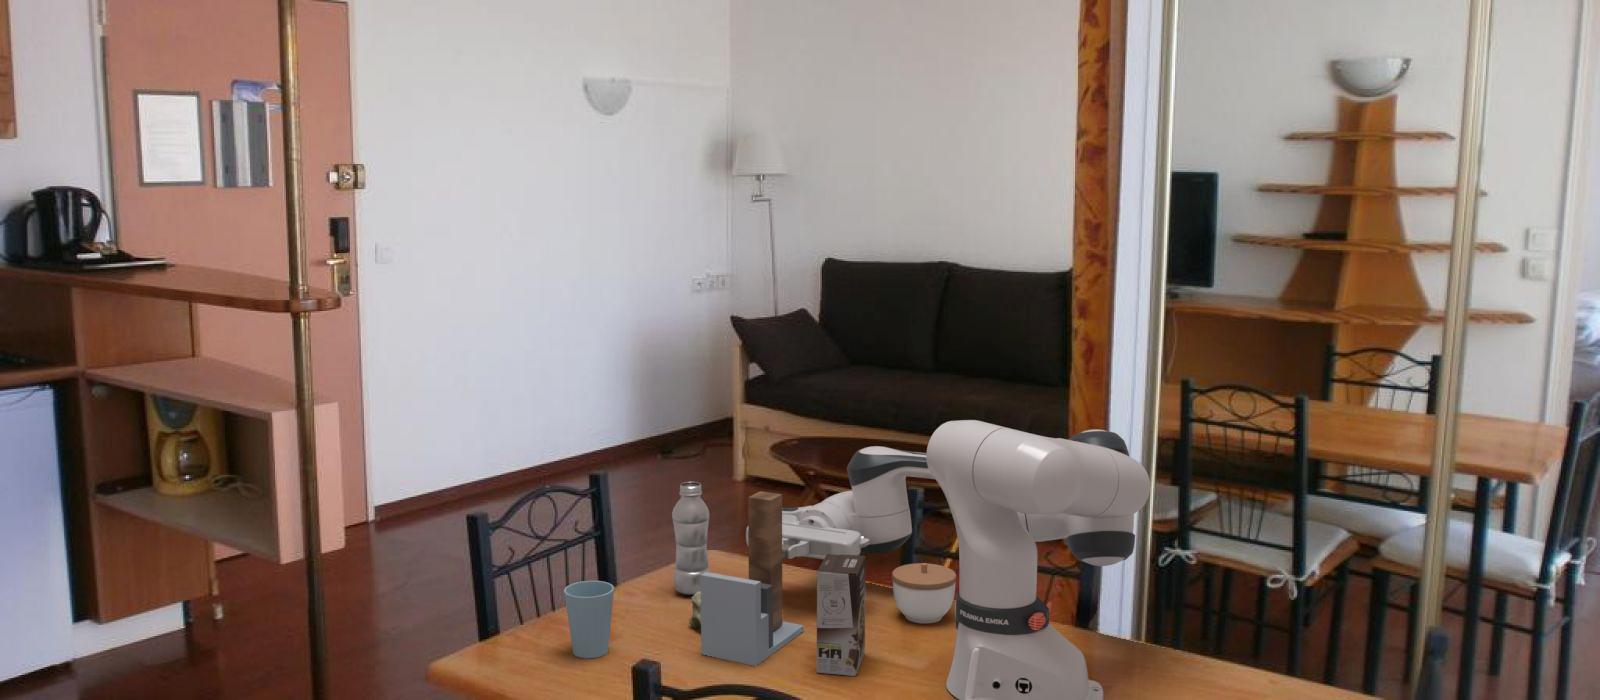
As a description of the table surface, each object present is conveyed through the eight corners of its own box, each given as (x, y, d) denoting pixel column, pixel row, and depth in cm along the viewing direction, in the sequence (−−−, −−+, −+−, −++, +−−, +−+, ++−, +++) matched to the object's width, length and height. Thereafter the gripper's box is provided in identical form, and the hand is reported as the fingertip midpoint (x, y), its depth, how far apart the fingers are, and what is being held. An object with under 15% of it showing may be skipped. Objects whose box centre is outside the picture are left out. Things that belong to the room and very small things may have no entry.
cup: (622, 644, 200) (620, 581, 199) (605, 663, 193) (603, 598, 191) (577, 640, 202) (575, 578, 200) (559, 659, 194) (556, 595, 193)
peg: (782, 624, 205) (782, 494, 202) (770, 632, 202) (770, 500, 198) (761, 620, 207) (760, 491, 203) (749, 628, 203) (748, 497, 200)
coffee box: (857, 677, 188) (858, 573, 185) (815, 673, 189) (815, 570, 186) (866, 653, 197) (867, 554, 194) (826, 650, 198) (826, 552, 195)
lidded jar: (918, 601, 220) (919, 549, 218) (968, 616, 212) (969, 563, 211) (878, 617, 212) (879, 564, 210) (928, 634, 205) (929, 578, 203)
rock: (737, 645, 203) (730, 602, 201) (683, 644, 206) (675, 602, 203) (752, 615, 212) (745, 573, 209) (700, 615, 214) (692, 573, 212)
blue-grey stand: (803, 631, 206) (803, 555, 204) (756, 666, 192) (755, 584, 190) (751, 621, 210) (751, 546, 208) (701, 654, 196) (700, 574, 194)
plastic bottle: (710, 599, 220) (709, 489, 217) (671, 599, 220) (669, 489, 217) (712, 586, 227) (711, 479, 224) (674, 587, 227) (673, 479, 224)
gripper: (873, 557, 216) (839, 581, 204) (769, 540, 225) (730, 562, 213) (874, 521, 215) (839, 543, 203) (769, 506, 224) (730, 526, 212)
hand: (782, 553), depth 208 cm, fingers closed
